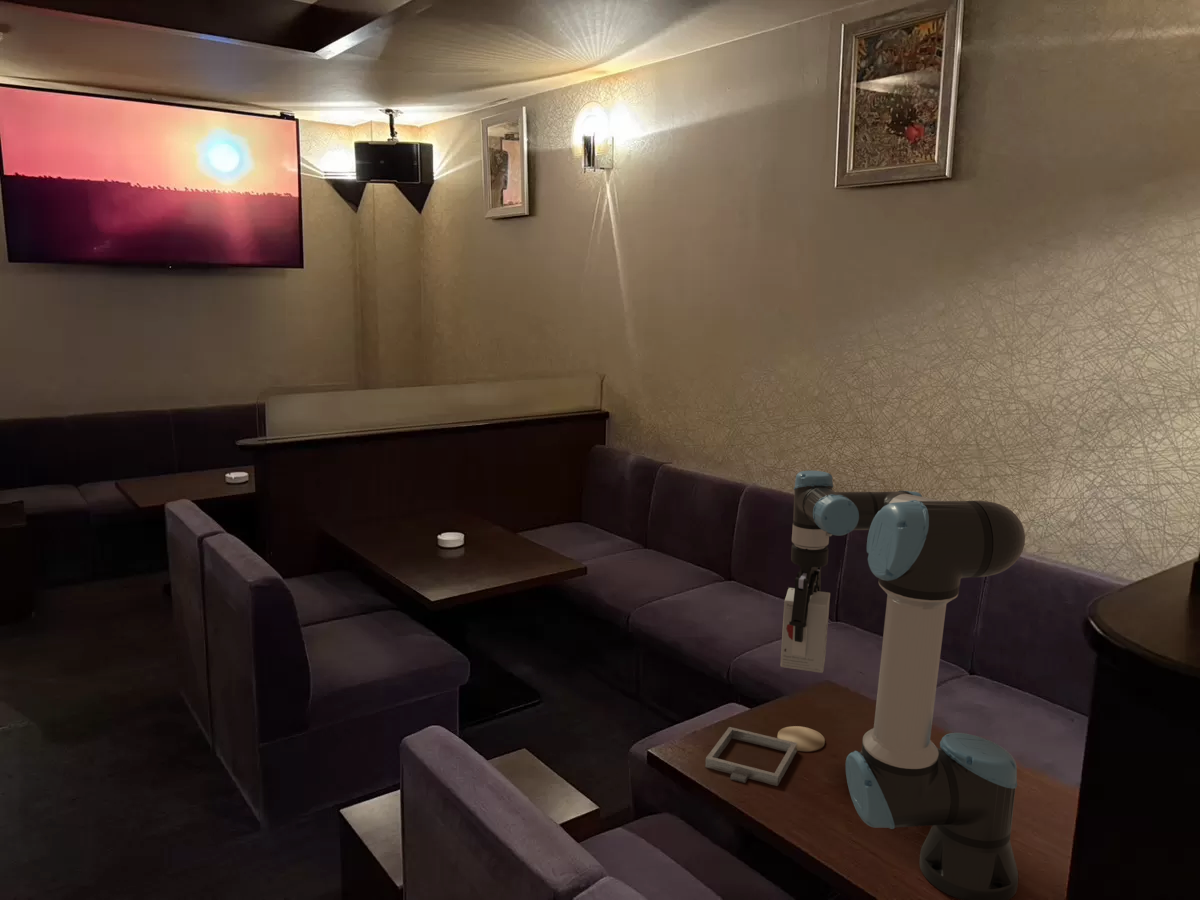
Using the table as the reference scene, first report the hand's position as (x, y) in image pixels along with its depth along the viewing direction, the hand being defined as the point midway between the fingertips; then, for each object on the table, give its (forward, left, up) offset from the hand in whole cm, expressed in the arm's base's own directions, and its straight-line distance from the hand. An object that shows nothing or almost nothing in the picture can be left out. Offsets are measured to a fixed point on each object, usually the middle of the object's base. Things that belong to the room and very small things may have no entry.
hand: (804, 646), depth 187 cm
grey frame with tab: (-13, +7, -22) cm, 26 cm away
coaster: (0, 0, -22) cm, 22 cm away
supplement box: (0, 0, -4) cm, 4 cm away
